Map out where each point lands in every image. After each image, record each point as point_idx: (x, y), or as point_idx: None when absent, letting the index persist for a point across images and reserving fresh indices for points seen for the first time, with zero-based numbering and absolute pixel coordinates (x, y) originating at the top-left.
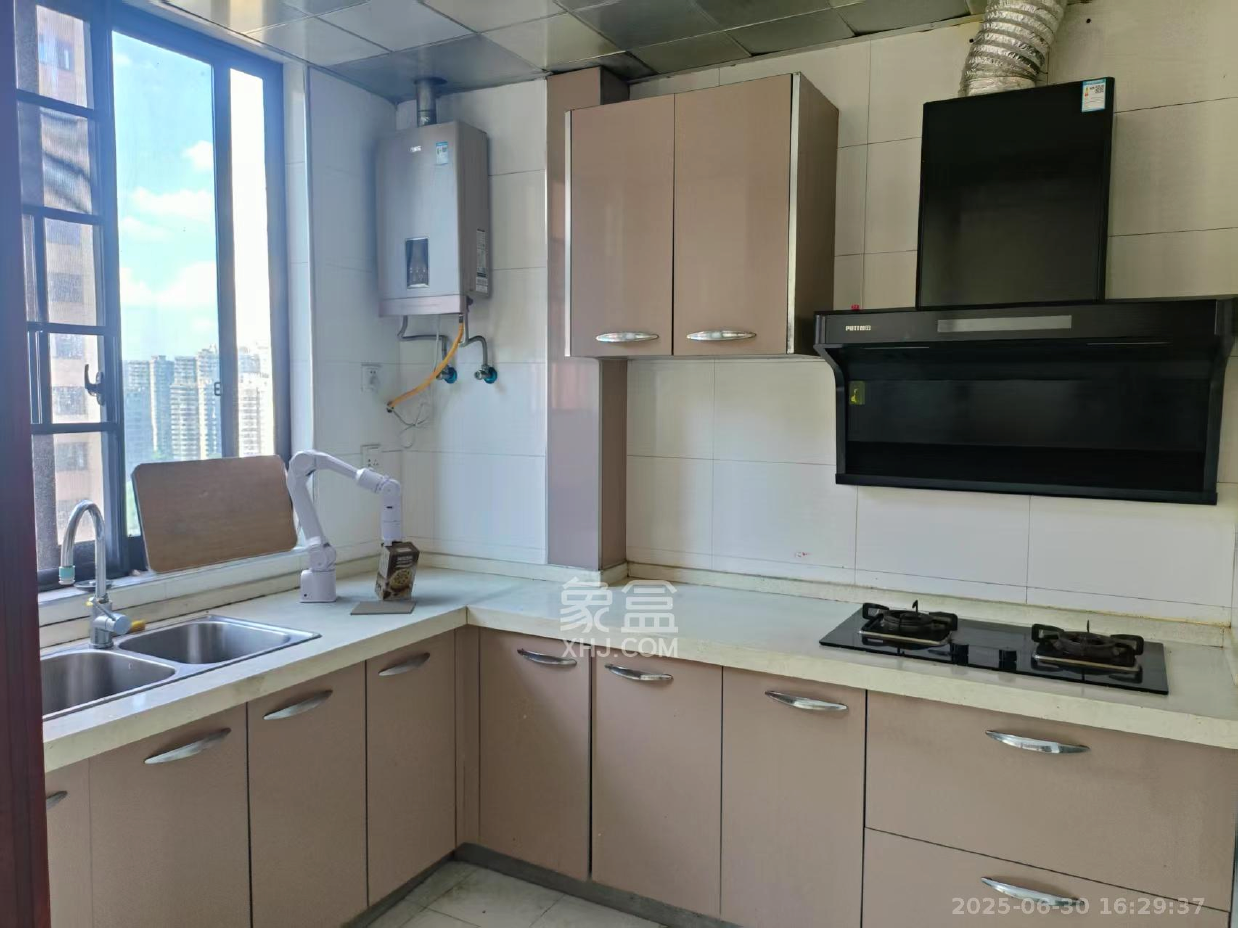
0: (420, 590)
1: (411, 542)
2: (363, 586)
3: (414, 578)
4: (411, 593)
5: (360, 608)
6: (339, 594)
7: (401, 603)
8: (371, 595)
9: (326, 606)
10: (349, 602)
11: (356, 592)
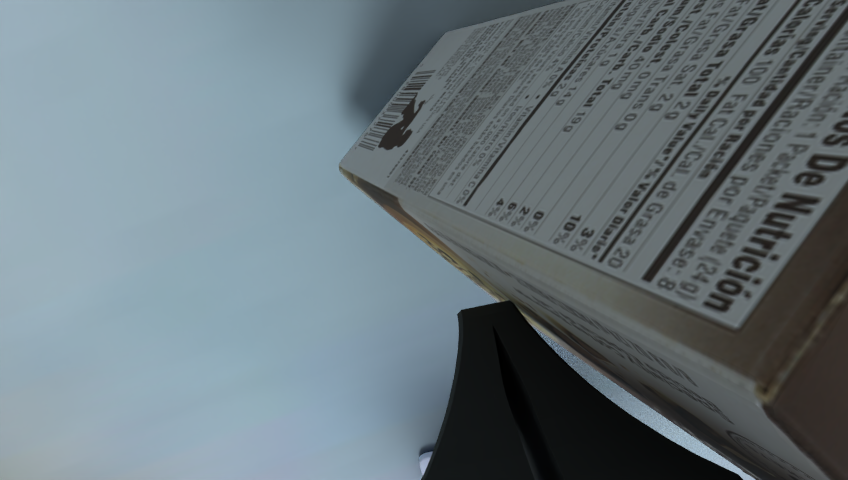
0: (109, 57)
1: (817, 354)
2: (137, 453)
3: (563, 1)
4: (470, 26)
5: None
6: (424, 460)
7: None
8: (373, 328)
9: (650, 413)
10: (566, 360)
11: (307, 424)
